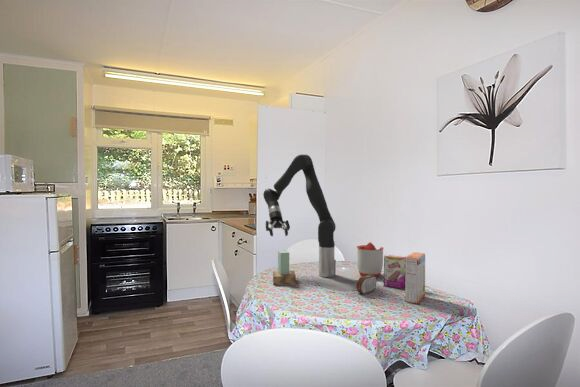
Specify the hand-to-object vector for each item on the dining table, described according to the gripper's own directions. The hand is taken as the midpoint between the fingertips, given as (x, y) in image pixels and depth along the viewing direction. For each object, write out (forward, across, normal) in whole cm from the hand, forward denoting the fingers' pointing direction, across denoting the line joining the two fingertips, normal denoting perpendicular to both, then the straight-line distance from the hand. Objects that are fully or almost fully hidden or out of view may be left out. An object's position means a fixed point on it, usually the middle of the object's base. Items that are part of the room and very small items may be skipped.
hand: (279, 235), depth 196 cm
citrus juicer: (+24, +54, +10) cm, 60 cm away
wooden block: (+25, 0, +9) cm, 27 cm away
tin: (+45, +36, -10) cm, 58 cm away
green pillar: (+22, 0, +6) cm, 22 cm away
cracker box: (+56, +53, -21) cm, 80 cm away
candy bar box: (+41, +55, -7) cm, 69 cm away
